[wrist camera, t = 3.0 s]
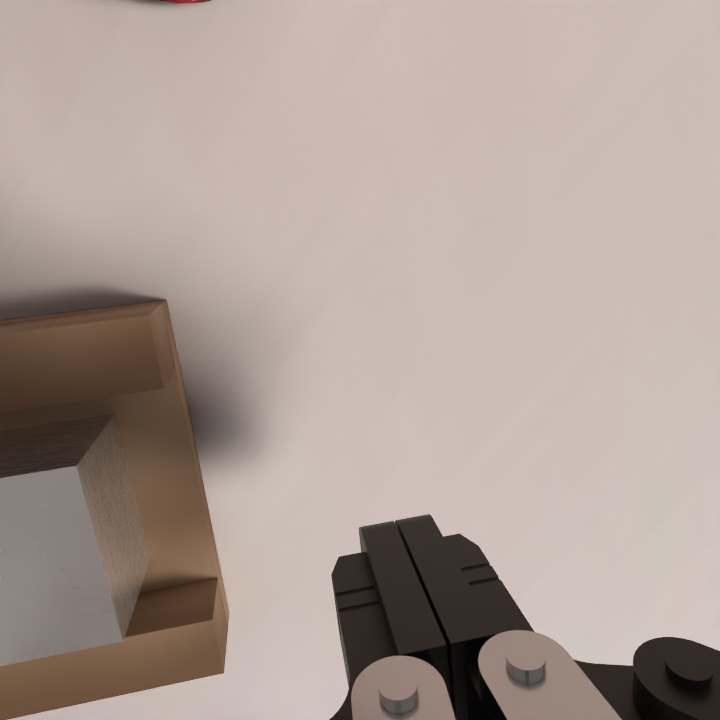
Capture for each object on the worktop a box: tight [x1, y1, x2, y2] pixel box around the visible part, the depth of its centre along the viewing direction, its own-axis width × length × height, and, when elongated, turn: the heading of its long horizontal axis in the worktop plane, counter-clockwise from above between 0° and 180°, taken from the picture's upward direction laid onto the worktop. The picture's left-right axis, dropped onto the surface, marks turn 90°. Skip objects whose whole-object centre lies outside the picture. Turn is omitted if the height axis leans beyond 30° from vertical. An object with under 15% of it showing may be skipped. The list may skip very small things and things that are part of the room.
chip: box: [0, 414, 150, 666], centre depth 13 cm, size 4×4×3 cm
